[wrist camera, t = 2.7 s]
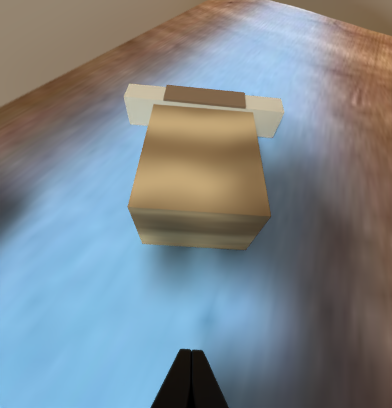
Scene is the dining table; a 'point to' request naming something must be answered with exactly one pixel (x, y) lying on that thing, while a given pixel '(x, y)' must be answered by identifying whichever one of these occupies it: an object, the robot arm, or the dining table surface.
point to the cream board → (203, 104)
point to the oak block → (199, 179)
